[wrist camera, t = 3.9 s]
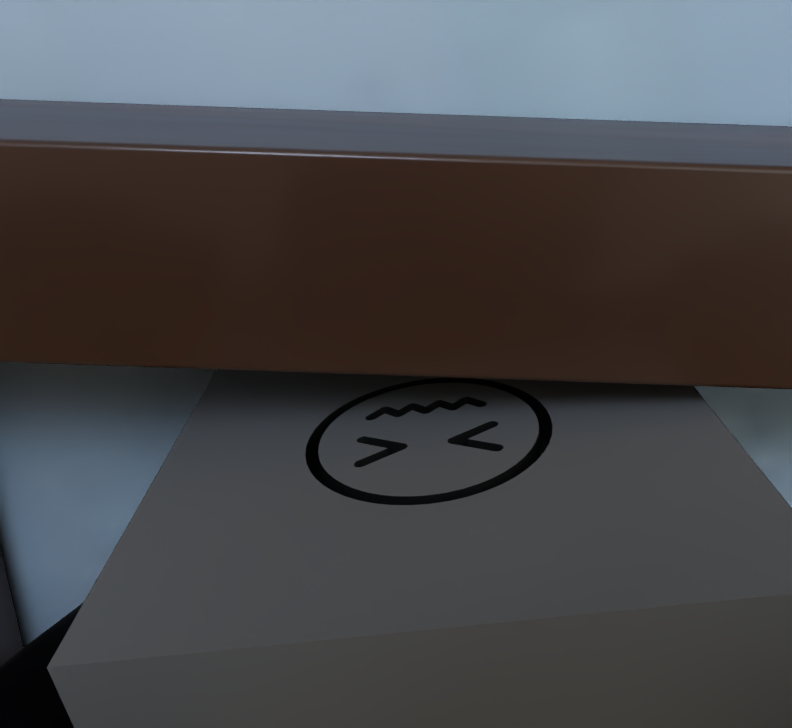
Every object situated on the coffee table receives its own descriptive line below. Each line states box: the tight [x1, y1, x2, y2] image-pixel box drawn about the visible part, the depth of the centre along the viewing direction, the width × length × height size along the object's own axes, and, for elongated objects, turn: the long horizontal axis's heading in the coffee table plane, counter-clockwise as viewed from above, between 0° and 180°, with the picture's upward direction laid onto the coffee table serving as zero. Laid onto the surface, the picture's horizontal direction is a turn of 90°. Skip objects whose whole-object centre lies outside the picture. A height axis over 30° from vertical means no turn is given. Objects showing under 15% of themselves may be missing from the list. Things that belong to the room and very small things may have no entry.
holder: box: [0, 99, 792, 666], centre depth 9 cm, size 10×14×3 cm
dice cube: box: [47, 369, 792, 728], centre depth 8 cm, size 5×5×5 cm
